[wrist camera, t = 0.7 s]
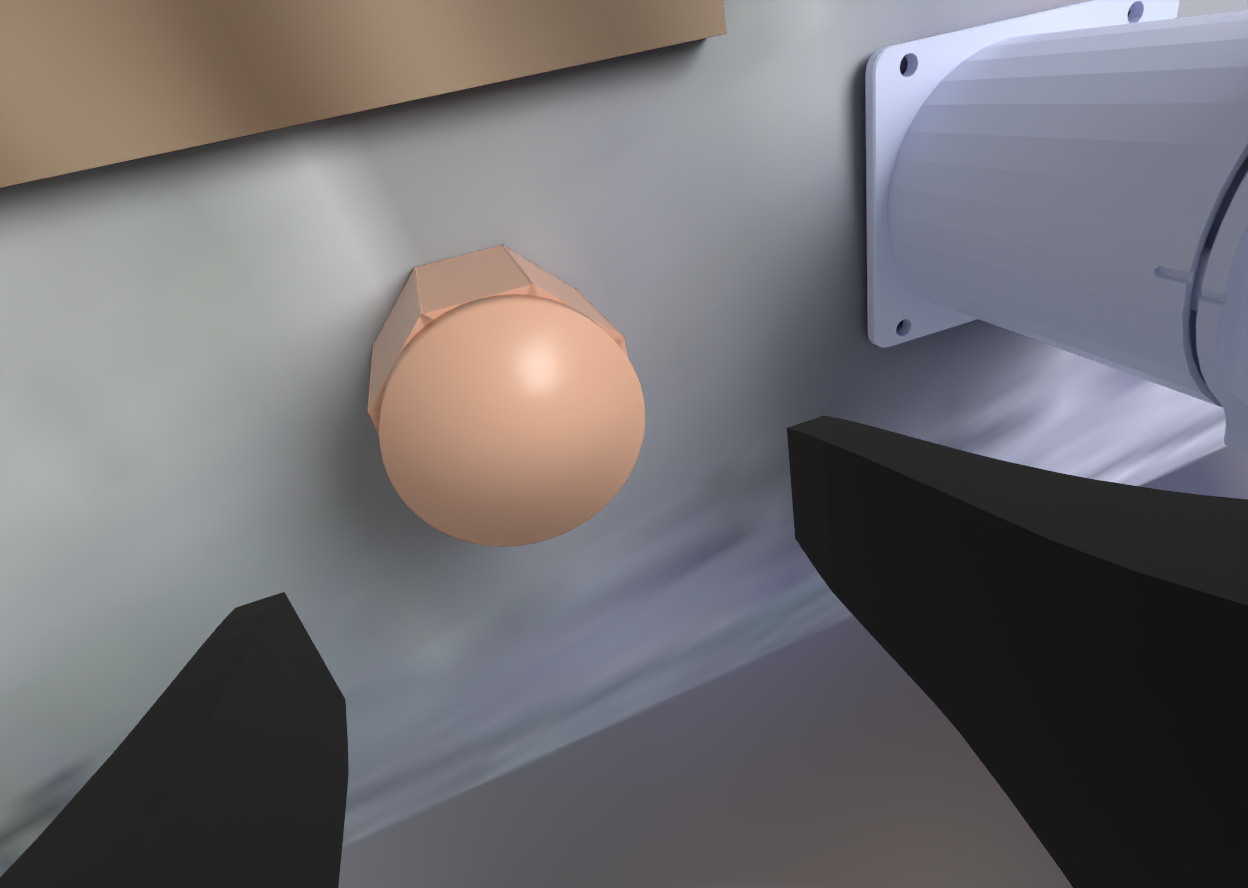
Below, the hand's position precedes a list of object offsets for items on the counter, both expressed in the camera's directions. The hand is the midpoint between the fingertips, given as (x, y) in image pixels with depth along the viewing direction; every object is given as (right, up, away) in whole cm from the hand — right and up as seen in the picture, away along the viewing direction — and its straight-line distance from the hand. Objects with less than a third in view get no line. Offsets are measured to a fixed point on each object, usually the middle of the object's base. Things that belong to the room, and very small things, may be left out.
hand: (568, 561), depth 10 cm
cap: (-3, +4, +8) cm, 9 cm away
